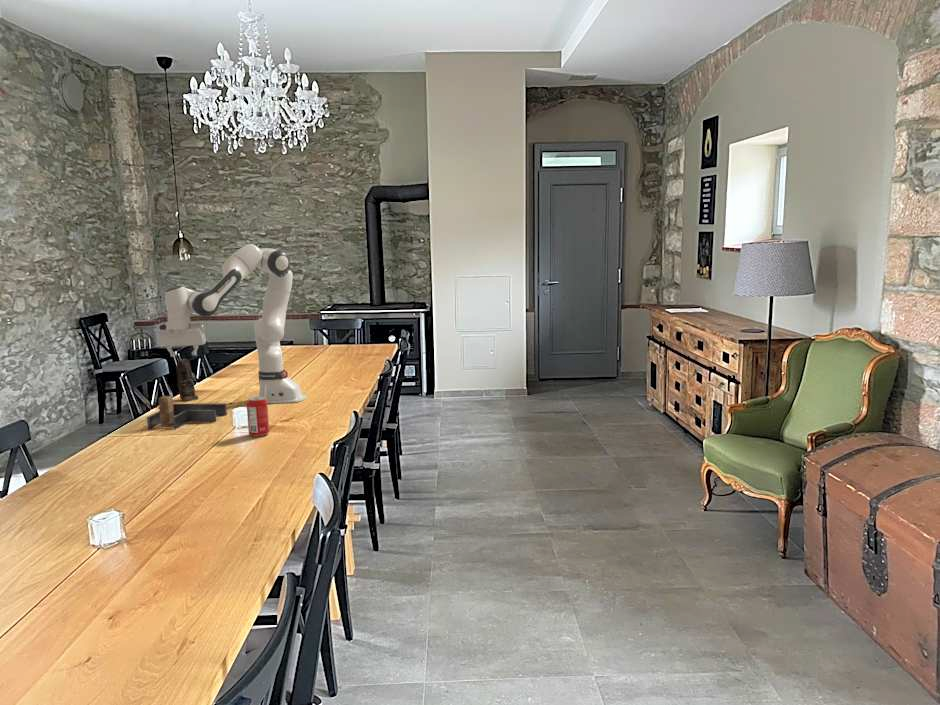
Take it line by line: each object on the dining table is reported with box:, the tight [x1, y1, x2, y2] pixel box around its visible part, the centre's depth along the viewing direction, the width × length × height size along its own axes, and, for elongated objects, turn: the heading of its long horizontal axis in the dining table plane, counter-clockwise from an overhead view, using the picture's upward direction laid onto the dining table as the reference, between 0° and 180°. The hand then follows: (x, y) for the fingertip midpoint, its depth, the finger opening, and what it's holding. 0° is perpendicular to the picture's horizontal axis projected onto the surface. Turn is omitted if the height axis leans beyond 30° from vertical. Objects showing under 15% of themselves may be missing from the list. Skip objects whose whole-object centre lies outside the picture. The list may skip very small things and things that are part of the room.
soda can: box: [246, 395, 270, 438], centre depth 287 cm, size 8×8×15 cm
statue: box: [175, 358, 199, 402], centre depth 350 cm, size 7×7×20 cm
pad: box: [153, 424, 174, 429], centre depth 304 cm, size 8×8×1 cm
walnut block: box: [157, 395, 174, 426], centre depth 303 cm, size 4×4×12 cm
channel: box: [146, 403, 228, 430], centre depth 310 cm, size 24×23×5 cm
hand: (183, 356), depth 313 cm, fingers open, 8 cm apart
